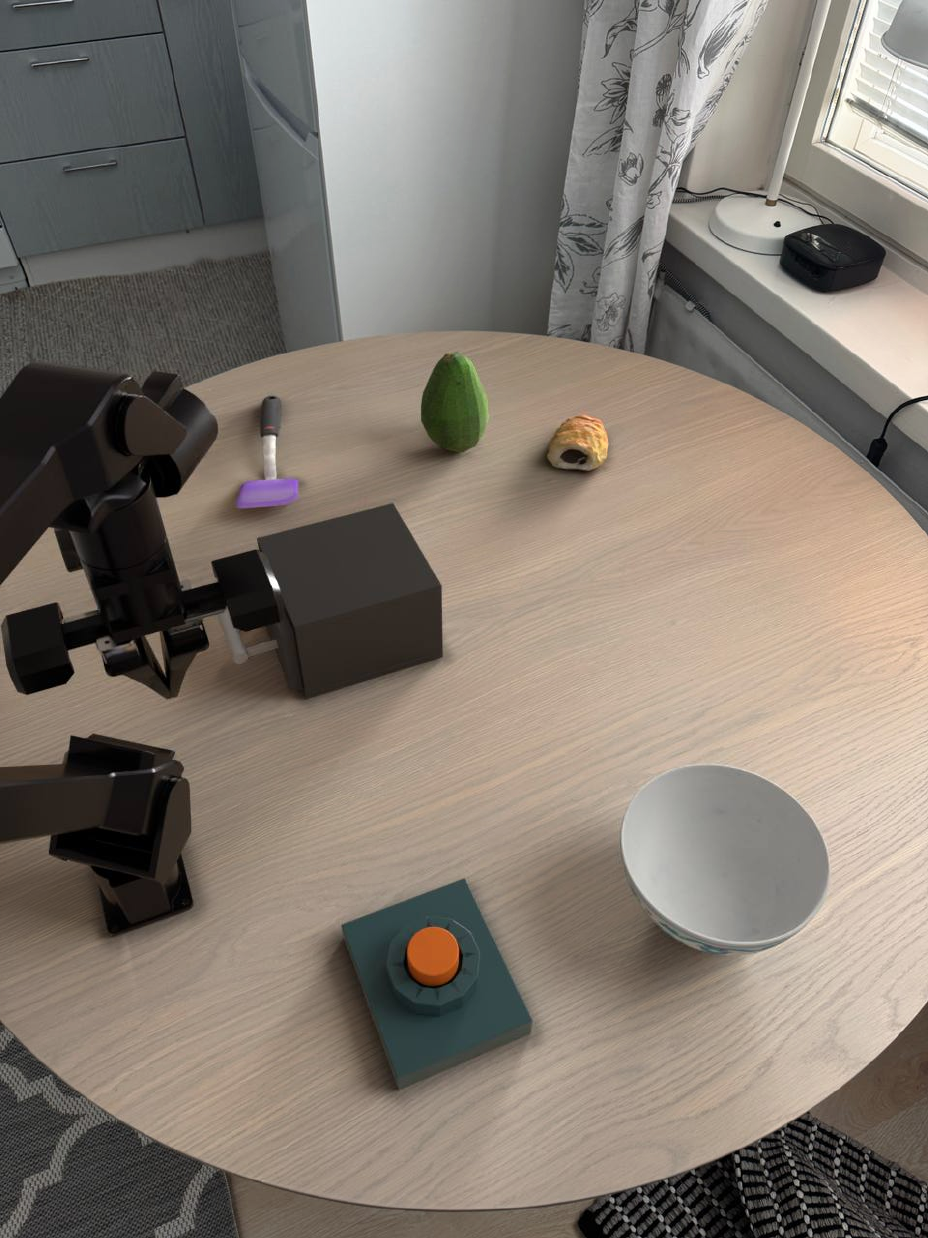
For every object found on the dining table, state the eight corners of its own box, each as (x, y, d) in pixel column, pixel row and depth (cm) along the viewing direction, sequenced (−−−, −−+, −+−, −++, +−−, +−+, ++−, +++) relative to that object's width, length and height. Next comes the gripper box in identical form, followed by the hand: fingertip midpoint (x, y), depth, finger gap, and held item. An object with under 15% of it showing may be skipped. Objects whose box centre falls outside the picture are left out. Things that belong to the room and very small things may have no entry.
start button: (466, 975, 70) (466, 963, 68) (418, 994, 69) (418, 983, 67) (447, 931, 72) (446, 919, 71) (400, 949, 71) (399, 937, 70)
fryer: (306, 699, 92) (294, 627, 85) (270, 610, 100) (256, 537, 93) (443, 657, 96) (442, 584, 89) (397, 574, 104) (393, 502, 97)
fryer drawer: (245, 706, 90) (231, 647, 84) (216, 623, 97) (202, 564, 92) (418, 653, 95) (415, 594, 89) (378, 577, 102) (373, 519, 96)
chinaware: (654, 1018, 71) (670, 969, 66) (581, 842, 81) (590, 787, 76) (841, 965, 74) (872, 914, 68) (748, 801, 84) (769, 745, 79)
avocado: (467, 420, 123) (468, 332, 115) (499, 453, 119) (502, 364, 110) (410, 437, 121) (406, 349, 112) (439, 472, 116) (438, 383, 107)
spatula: (247, 403, 126) (244, 386, 124) (301, 400, 126) (299, 383, 125) (237, 525, 109) (233, 508, 107) (299, 521, 110) (297, 503, 108)
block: (531, 1033, 70) (534, 1009, 68) (398, 1091, 68) (396, 1068, 65) (464, 891, 78) (465, 865, 75) (343, 938, 75) (338, 912, 72)
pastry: (560, 423, 123) (562, 397, 120) (614, 432, 122) (618, 405, 119) (544, 468, 117) (547, 441, 114) (601, 477, 115) (605, 450, 113)
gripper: (232, 441, 73) (262, 593, 84) (-38, 504, 68) (33, 657, 79) (272, 533, 66) (299, 686, 77) (-25, 611, 61) (50, 763, 72)
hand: (171, 694), depth 76 cm, fingers closed
